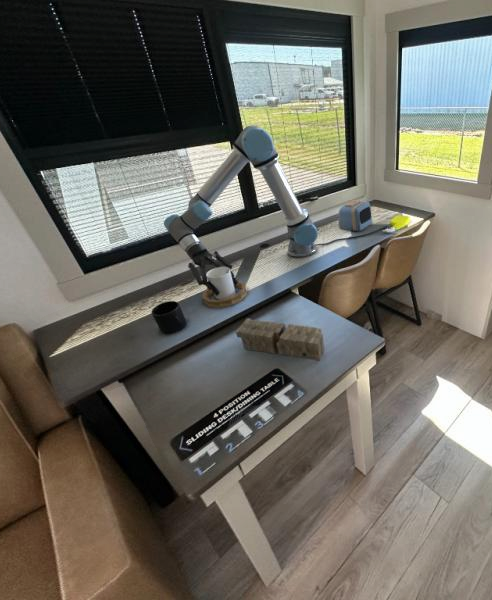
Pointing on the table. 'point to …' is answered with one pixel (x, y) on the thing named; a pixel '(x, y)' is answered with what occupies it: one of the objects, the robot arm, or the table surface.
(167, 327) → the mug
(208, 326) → the table surface
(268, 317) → the table surface
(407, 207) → the table surface
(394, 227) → the spray bottle
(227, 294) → the white cup
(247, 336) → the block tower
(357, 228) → the alarm clock
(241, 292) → the stand
